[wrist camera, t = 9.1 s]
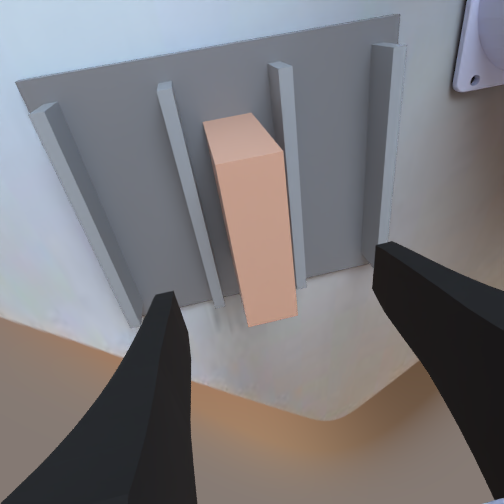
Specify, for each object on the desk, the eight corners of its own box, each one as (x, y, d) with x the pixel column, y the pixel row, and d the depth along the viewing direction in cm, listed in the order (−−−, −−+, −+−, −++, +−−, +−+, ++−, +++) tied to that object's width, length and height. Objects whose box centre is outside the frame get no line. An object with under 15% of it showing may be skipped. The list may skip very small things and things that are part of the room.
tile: (251, 112, 17) (283, 151, 12) (269, 247, 22) (297, 315, 17) (202, 121, 17) (215, 165, 12) (230, 256, 22) (248, 327, 17)
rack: (393, 14, 17) (426, 14, 14) (375, 256, 25) (394, 278, 22) (19, 79, 15) (-5, 90, 13) (128, 312, 23) (124, 342, 21)
